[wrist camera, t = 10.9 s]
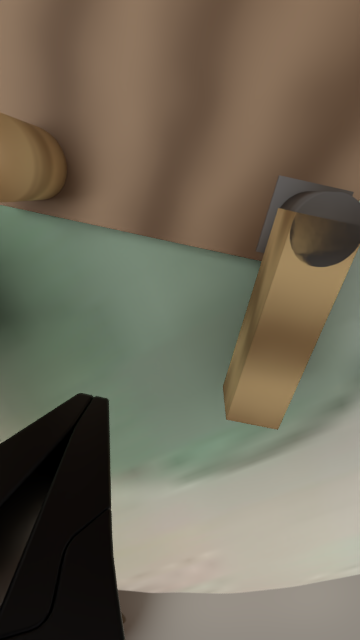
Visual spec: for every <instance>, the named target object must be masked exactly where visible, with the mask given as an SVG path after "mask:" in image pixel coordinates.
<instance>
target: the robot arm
mask: <svg viewBox="0 0 360 640" xmlns="http://www.w3.org/2000/svg"><path fill="white" fill-rule="evenodd" d="M0 640H125V636H124V629H123V622H122V616H121V609H120V602H119V596H118V589H117V581H116V573H115V565H114V557H113V541H112V514H111V476H110V431H109V400H108V399H107V398H103V397H98V396H95V397H93V396H92V395H89V394H84V393H79V394H77V395H75V396H74V397H72V398H70V399H69V400H67V401H66V402H64V403H63V404H61V405H60V406H58V407H57V408H55V409H54V410H52V411H50V412H49V413H47V414H46V415H44V416H43V417H41V418H40V419H38V420H37V421H35V422H33V423H32V424H30V425H29V426H27V427H26V428H24V429H23V430H21V431H20V432H18V433H16V434H15V435H13V436H12V437H10V438H9V439H7V440H6V441H4V442H3V443H1V444H0Z"/></svg>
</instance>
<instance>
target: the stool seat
mask: <svg viewBox="0 0 360 640" xmlns="http://www.w3.org/2000/svg"><path fill="white" fill-rule="evenodd" d="M306 191H323V192H343V193H346V194H349V195H351V196H353V197H354V198H356V199H357V200H358V201H359V200H360V0H0V205H4V206H9V207H14V208H18V209H23V210H28V211H32V212H37V213H41V214H46V215H51V216H55V217H60V218H64V219H69V220H74V221H78V222H83V223H88V224H92V225H97V226H101V227H106V228H111V229H115V230H120V231H125V232H129V233H134V234H138V235H143V236H148V237H152V238H157V239H162V240H166V241H171V242H175V243H180V244H185V245H189V246H194V247H199V248H203V249H208V250H212V251H217V252H222V253H226V254H231V255H235V256H240V257H245V258H249V259H254V260H259V261H262V259H263V255H264V252H265V249H266V246H267V243H268V239H269V236H270V233H271V230H272V226H273V223H274V220H275V217H276V213H277V210H278V208H280V207H281V206H282V205H283V203H284V202H285V201H286V200H288V199H289V198H290V197H292V196H294V195H296V194H298V193H301V192H306Z"/></svg>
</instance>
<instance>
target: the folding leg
mask: <svg viewBox="0 0 360 640" xmlns="http://www.w3.org/2000/svg"><path fill="white" fill-rule="evenodd" d="M359 246H360V203H359V201H358V200H357V199H356V198H354V197H353V196H351V195H349V194H346V193H343V192H323V191H306V192H301V193H298V194H296V195H294V196H292V197H290V198H289V199H288V200H286V201H285V202H284V203H283V205H282V206H281V207H280V208H278V210H277V213H276V217H275V220H274V223H273V226H272V230H271V233H270V236H269V239H268V243H267V246H266V249H265V252H264V255H263V259H262V262H261V265H260V268H259V272H258V275H257V278H256V281H255V285H254V288H253V291H252V294H251V298H250V301H249V304H248V307H247V310H246V314H245V317H244V320H243V323H242V327H241V330H240V333H239V336H238V340H237V343H236V346H235V349H234V353H233V356H232V359H231V362H230V365H229V369H228V372H227V375H226V378H225V382H224V385H223V392H224V402H225V411H226V420H232V421H237V422H242V423H247V424H252V425H257V426H262V427H267V428H272V429H277V430H278V428H279V426H280V424H281V422H282V419H283V417H284V415H285V413H286V410H287V408H288V406H289V404H290V401H291V399H292V397H293V395H294V392H295V390H296V388H297V385H298V383H299V381H300V379H301V376H302V374H303V372H304V370H305V367H306V365H307V363H308V361H309V358H310V356H311V354H312V352H313V349H314V347H315V345H316V343H317V340H318V338H319V336H320V334H321V331H322V329H323V327H324V325H325V322H326V320H327V318H328V316H329V313H330V311H331V309H332V307H333V304H334V302H335V300H336V298H337V295H338V293H339V291H340V289H341V286H342V284H343V282H344V280H345V277H346V275H347V273H348V270H349V268H350V266H351V264H352V261H353V259H354V257H355V255H356V252H357V250H358V248H359Z"/></svg>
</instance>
